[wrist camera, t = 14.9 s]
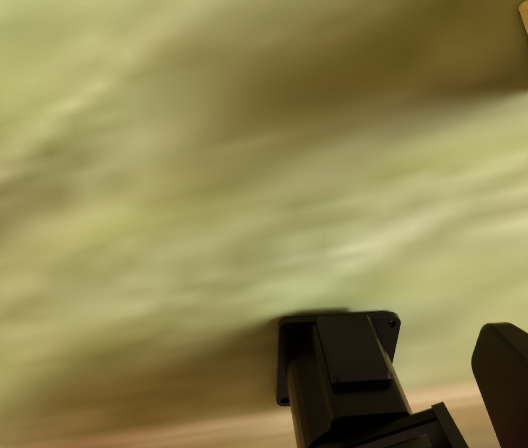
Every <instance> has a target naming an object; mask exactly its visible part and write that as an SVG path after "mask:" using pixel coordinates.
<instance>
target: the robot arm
mask: <svg viewBox="0 0 528 448" xmlns="http://www.w3.org/2000/svg"><path fill="white" fill-rule="evenodd" d="M389 321H392V322H390V323H388V322H389ZM400 325H401V321H400V319H399V317H398V315H397V314H396V313H394V312H382V313H362V314H343V315H323V316H303V317H287V318H283V319H281V320H280V322H279V324H278V342H277V370H276V402H277V404H278V405H280V406H291V412H292V418H293V424H294V431H295V437H296V443H297V448H469V447H468V445H467V444H466V442H465V440H464V438H463V436H462V435H461V433H460V431H459V429H458V428H457V426H456V424H455V422H454V420H453V419H452V417H451V415H450V413H449V412H448V410H447V408H446V406H445V404H444V403H443V402H441V403H438V404H435V405H432V406H431V407H432V408H430V409H427V410H424V411H421V412H418V413H414V414H413V413H412V411H411V408H410V406H409V404H408V401H407V399H406V396H405V394H404V392H403V389H402V387H401V385H400V382H399V380H398V377H397V375H396V373H395V370H394V368H393V366H392V363H393V358H394V353H395V348H396V344H397V339H398V334H399V330H400ZM287 326H291V327H290V328H285V327H287ZM471 365H472V371H473V374H474V377H475V379H476V382H477V385H478V387H479V390H480V393H481V395H482V398H483V401H484V403H485V406H486V409H487V411H488V414H489V417H490V419H491V422H492V425H493V428H494V430H495V433H496V436H497V438H498V441H499V444H500V446H501V448H528V333H527V332H525V331H523V330H522V329H520V328H518V327H517V326H515V325H513V324H511V323H507V322H500V323H487V324H485V325H484V326H483V327H482V328H481V330H480V333H479V337H478V340H477V343H476V346H475V349H474V352H473V355H472V359H471Z"/></svg>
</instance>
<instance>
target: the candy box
mask: <svg viewBox="0 0 528 448" xmlns="http://www.w3.org/2000/svg"><path fill="white" fill-rule="evenodd" d="M518 9H519V12H520V14H521V17H522V21H523V24H524V26H525V29H526V32H527V35H528V0H526V1H525V2H523V3H522V4H520V6H519V7H518Z"/></svg>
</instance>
